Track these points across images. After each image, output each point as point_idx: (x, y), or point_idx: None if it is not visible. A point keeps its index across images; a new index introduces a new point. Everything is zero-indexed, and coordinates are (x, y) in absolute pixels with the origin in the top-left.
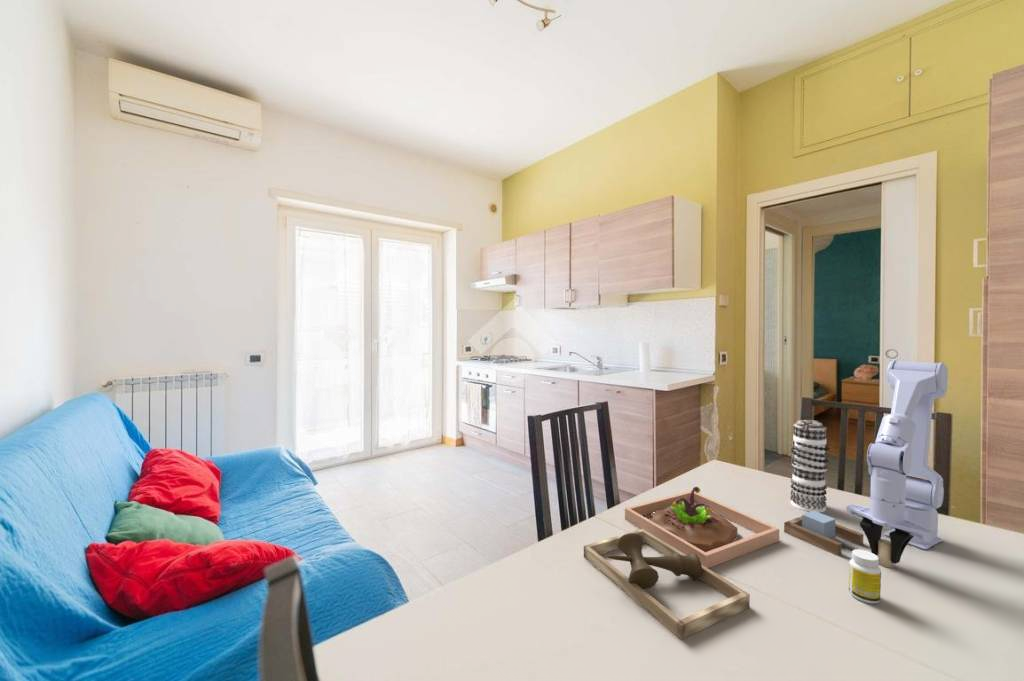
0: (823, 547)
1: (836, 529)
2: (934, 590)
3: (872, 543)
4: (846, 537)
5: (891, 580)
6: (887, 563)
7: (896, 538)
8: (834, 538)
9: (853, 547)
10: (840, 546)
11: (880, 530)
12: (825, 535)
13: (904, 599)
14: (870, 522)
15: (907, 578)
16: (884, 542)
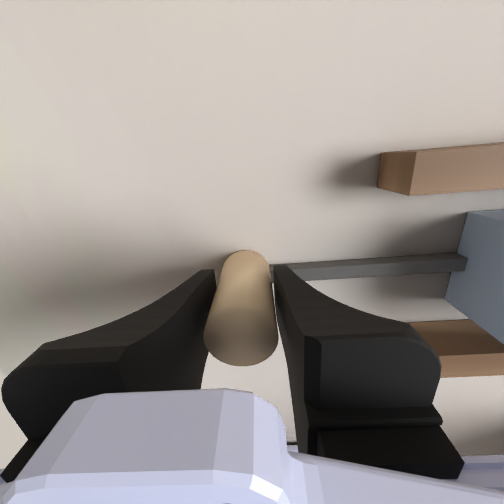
0: (459, 146)
1: (471, 341)
2: (75, 243)
3: (288, 285)
4: (416, 330)
5: (160, 161)
6: (228, 263)
7: (83, 343)
8: (446, 295)
9: (365, 275)
10: (403, 178)
11: (294, 409)
12: (498, 238)
13: (26, 26)
14: (359, 430)
15: (155, 241)
16: (241, 327)
